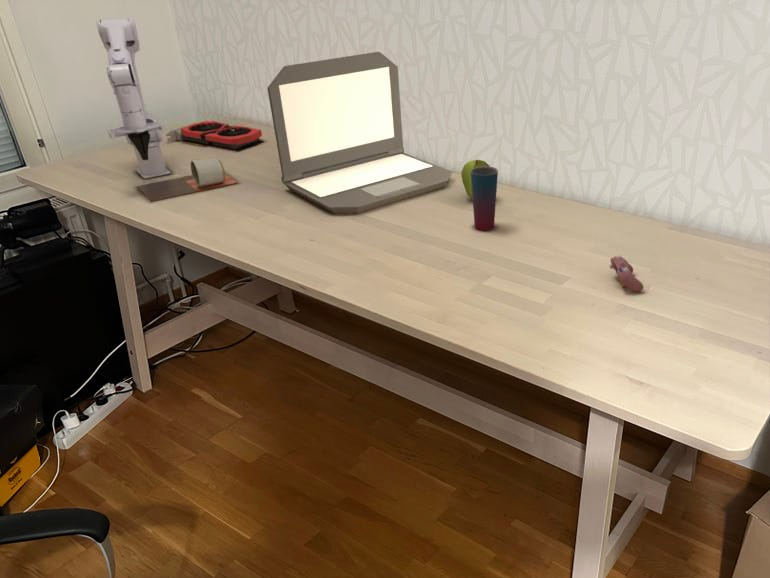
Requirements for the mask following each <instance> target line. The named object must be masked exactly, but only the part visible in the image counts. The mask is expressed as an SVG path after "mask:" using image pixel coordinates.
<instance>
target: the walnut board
mask: <svg viewBox="0 0 770 578" xmlns="http://www.w3.org/2000/svg"><path fill="white" fill-rule="evenodd" d="M237 184H238V182H237V181H236V180H235V179H233V178H232V177H231V176H230V175H228V174H227V173H225V180H224V181H223V182H221V183H217V184H212V185H207V186H202V187H198V186H197V185H196V183H195V181H194V178H193V175H187V176H182V177H177V178H172V179H167V180H163V181H157V182H152V183H148V184H147V183H146V184H143V185H138V186H137V188H138V189H139V191H141V192H142V193H143V195H144V196H145V197H146V198H147V199H148V200H149V201H150V203H153V202H156V201H163V200H166V199H172V198H176V197H180V196H186V195H190V194H194V193H200V192H204V191H208V190H209V191H210V190H214V189H218V188H223V187H228V186H232V185H237Z"/></svg>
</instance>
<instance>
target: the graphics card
mask: <svg viewBox="0 0 770 578" xmlns="http://www.w3.org/2000/svg"><path fill="white" fill-rule="evenodd" d="M165 136H166V137H167V139H166V140H167V142H174V141H175V142H182V143H184V144H187V145H193V146H198V147H212V148H216V149H223V150H227V151H228V150H229V151H234V152H241V151H244V150H246V149H249V148H252V147H254V146H257V145H259V144H262V143H264V141H262V140H261V139H260V138H261V137H262V136H263V133H262V129H258V128H253V127H248V126H242V125H235V124H234V125H229V123H224V122H218V121H216V120H211V121H210V120H205V121H200V122H193V123H192V124H189V125H186V126H182V127H178V128H176V129H173V130H170V131H168V132H167V133H165Z"/></svg>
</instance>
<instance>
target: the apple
mask: <svg viewBox="0 0 770 578" xmlns="http://www.w3.org/2000/svg"><path fill="white" fill-rule="evenodd" d="M480 166H489V167H491V166H490V164H489V163H488V162H486V161H485V160H481V159H474V160H470V161H468V162H466V163H465V164H464V165H463V167H462V170H461V181H462V185H463V187H464V190H465V192H466V195H467V197H469V198H470V199H471V200H472V201H473V197H472V183H471V169H473V168H475V167H480Z"/></svg>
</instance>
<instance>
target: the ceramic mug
mask: <svg viewBox="0 0 770 578" xmlns="http://www.w3.org/2000/svg"><path fill="white" fill-rule="evenodd" d="M224 167H225V166H224V164H223V162H222V161H221V159H219V158H214V157H213V158H203V159H202V158H201V159H192V160H191V161H190V170H191V171H190V172H191V174H192V175H193V178H194V181H195V183H196V185H197V186H198V187H202V186H207V185H212V184H217V183H221V182H223V181H224V180H225V174H226V172H225V168H224ZM192 175H191V176H192Z"/></svg>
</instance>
